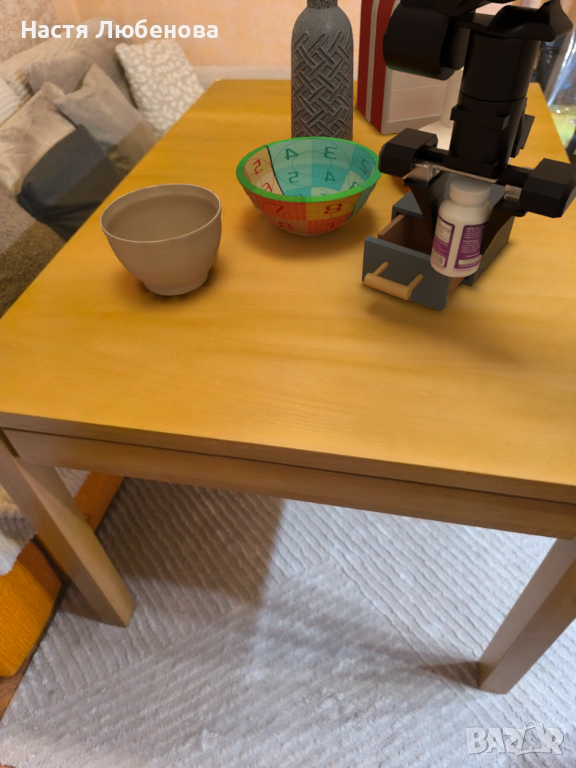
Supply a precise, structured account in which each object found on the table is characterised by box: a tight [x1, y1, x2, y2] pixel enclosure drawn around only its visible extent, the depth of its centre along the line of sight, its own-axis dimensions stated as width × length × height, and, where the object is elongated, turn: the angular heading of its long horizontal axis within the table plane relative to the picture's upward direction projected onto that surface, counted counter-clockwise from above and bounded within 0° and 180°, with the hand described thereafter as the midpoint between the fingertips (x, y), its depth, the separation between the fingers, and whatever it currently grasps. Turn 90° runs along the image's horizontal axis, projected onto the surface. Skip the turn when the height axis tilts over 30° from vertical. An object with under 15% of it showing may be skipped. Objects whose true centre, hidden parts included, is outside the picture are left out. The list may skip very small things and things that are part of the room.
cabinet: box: [390, 173, 516, 288], centre depth 77 cm, size 13×13×8 cm
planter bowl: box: [99, 183, 223, 296], centre depth 75 cm, size 16×16×11 cm
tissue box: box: [355, 0, 446, 135], centre depth 109 cm, size 17×18×27 cm
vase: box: [290, 0, 355, 142], centre depth 96 cm, size 12×12×28 cm
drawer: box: [361, 213, 466, 312], centre depth 71 cm, size 17×12×7 cm
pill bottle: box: [431, 176, 492, 277], centre depth 56 cm, size 5×5×10 cm
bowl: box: [235, 137, 383, 237], centre depth 84 cm, size 22×22×10 cm
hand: (458, 245), depth 58 cm, fingers closed on pill bottle, 5 cm apart
